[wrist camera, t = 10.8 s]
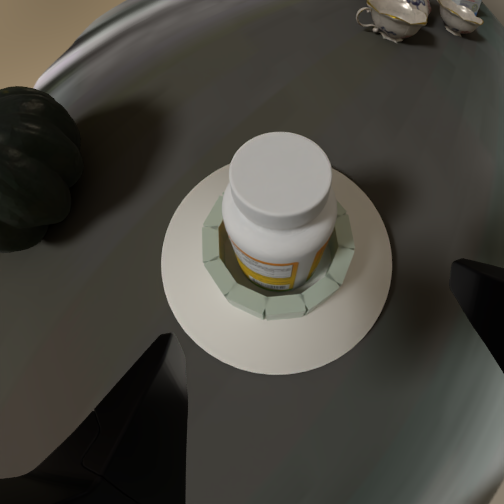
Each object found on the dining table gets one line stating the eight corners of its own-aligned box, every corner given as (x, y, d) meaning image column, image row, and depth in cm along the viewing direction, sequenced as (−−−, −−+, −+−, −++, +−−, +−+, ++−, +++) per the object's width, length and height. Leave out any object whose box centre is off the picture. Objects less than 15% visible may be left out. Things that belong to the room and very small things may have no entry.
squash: (116, 79, 22) (-23, 40, 12) (87, 234, 18) (-107, 196, 7) (71, 159, 32) (-32, 135, 21) (54, 280, 27) (-69, 260, 17)
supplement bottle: (294, 205, 22) (304, 104, 12) (333, 270, 20) (378, 196, 11) (224, 238, 21) (190, 148, 12) (259, 308, 19) (247, 260, 10)
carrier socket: (246, 419, 18) (240, 431, 15) (132, 233, 23) (112, 213, 20) (426, 280, 20) (449, 265, 17) (297, 133, 25) (299, 104, 22)
